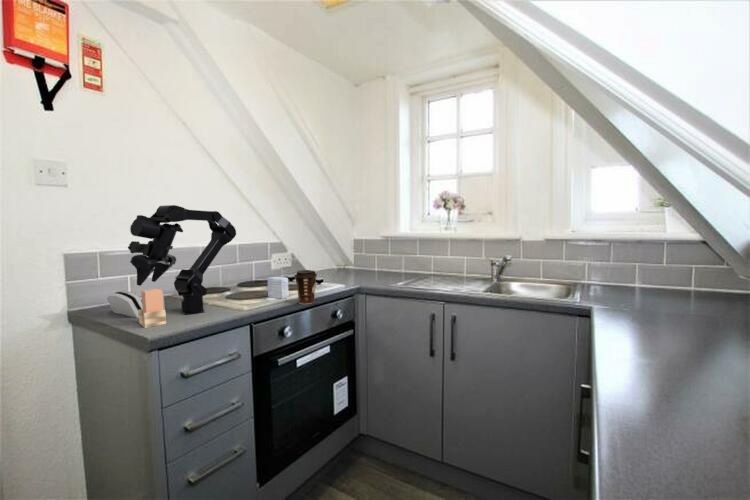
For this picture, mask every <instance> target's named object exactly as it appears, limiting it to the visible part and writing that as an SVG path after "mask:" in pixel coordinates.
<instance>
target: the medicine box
mask: <svg viewBox="0 0 750 500" xmlns="http://www.w3.org/2000/svg"><path fill="white" fill-rule="evenodd" d="M268 297H269V298H270V299H278V300H279V299H280V300H284V299H288V298H289V278H288V277H284V276H283V277H280V276H273V277H272V276H271V277H268V278H267V298H268ZM269 298H268V299H269Z"/></svg>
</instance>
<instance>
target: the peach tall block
mask: <svg viewBox="0 0 750 500" xmlns="http://www.w3.org/2000/svg"><path fill="white" fill-rule="evenodd" d="M140 292H141V302H142V306H143V313H148V312H154V311H160V310H165V311H166V309H165V295H164V294H163V293H164V292H163V289H161V288H153V289H146V290H141V291H140ZM143 321H144V315H143Z"/></svg>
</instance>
